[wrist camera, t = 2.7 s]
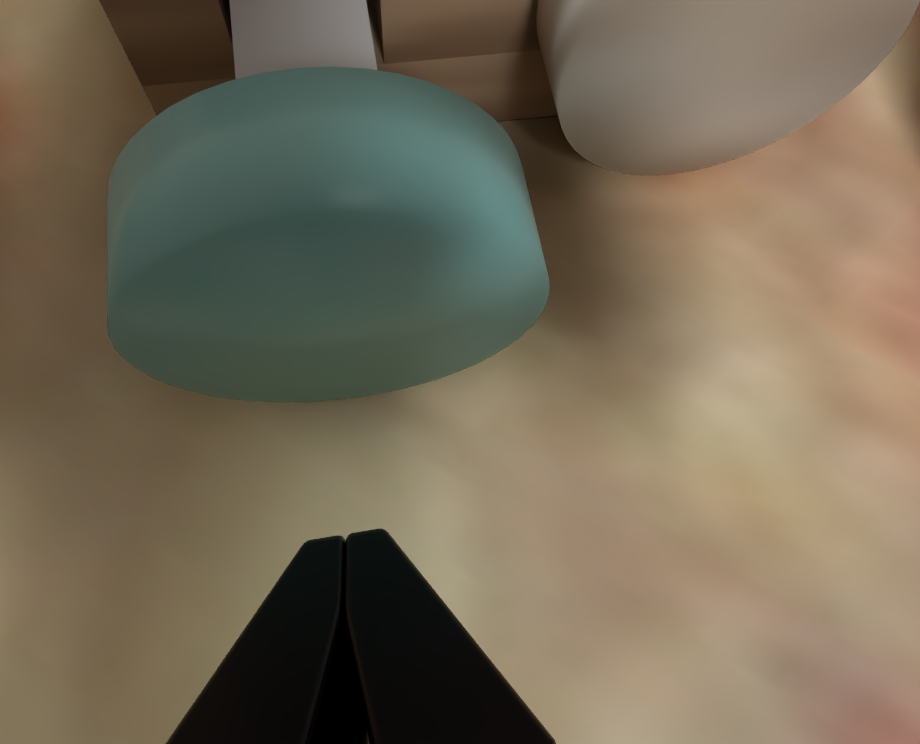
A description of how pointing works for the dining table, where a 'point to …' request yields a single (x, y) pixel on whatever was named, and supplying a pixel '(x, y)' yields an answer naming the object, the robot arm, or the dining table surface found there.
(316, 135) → the teal knob
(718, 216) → the dining table surface
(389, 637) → the robot arm
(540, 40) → the walnut mount
